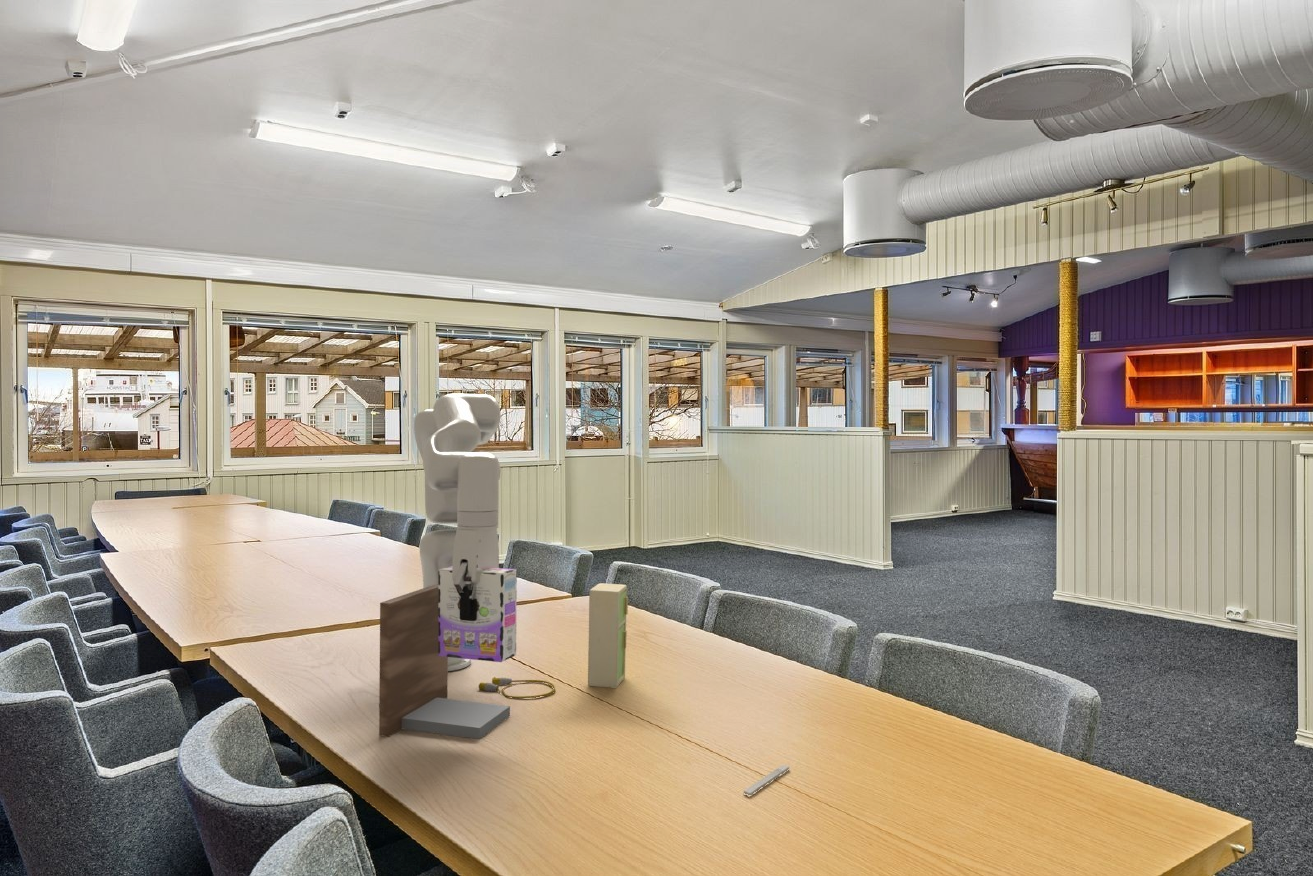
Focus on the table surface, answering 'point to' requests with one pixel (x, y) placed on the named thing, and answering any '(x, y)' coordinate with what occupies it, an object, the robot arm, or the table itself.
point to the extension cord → (499, 681)
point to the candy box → (479, 617)
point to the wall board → (409, 657)
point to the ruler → (766, 780)
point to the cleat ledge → (456, 717)
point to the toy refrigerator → (607, 634)
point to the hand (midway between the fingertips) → (477, 615)
